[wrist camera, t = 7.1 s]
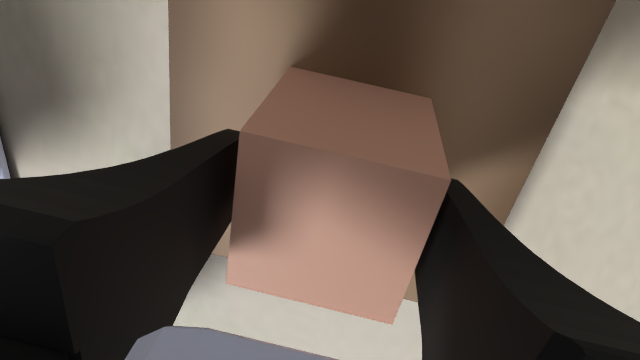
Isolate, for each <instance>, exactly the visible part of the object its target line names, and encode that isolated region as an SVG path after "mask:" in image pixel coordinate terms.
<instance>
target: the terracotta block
mask: <svg viewBox="0 0 640 360" xmlns="http://www.w3.org/2000/svg"><path fill="white" fill-rule="evenodd" d="M450 182H451V177H450V173H449V169H448V165H447V161H446V157H445V153H444V149H443V145H442V140H441V136H440V132H439V128H438V124H437V120H436V116H435V112H434V108H433V104H432V100H431V98H427V97H422V96H418V95H414V94H409V93H405V92H400V91H396V90H392V89H387V88H383V87H378V86H374V85H370V84H365V83H361V82H356V81H352V80H348V79H343V78H339V77H334V76H330V75H326V74H321V73H317V72H312V71H308V70H304V69H299V68H295V67H290V68H289V69H288V70H287V71H286V73H285V74H284V75H283V76H282V78H281V79H280V80H279V82H278V83H277V84H276V85H275V87H274V88H273V89H272V90H271V92H270V93H269V94H268V96H267V97H266V98H265V99H264V101H263V102H262V103H261V104H260V106H259V107H258V108H257V109H256V111H255V112H254V113H253V115H252V116H251V117H250V118H249V120H248V121H247V122H246V123H245V125H244V126H243V127H242V129H241V130H240V134H239V145H238V156H237V167H236V178H235V189H234V200H233V211H232V222H231V233H230V244H229V255H228V266H227V277H226V284H230V285H234V286H238V287H242V288H246V289H250V290H254V291H258V292H262V293H266V294H270V295H274V296H278V297H282V298H286V299H290V300H295V301H299V302H303V303H307V304H311V305H315V306H319V307H323V308H327V309H331V310H335V311H339V312H343V313H347V314H351V315H355V316H359V317H363V318H367V319H372V320H376V321H380V322H384V323H388V324H393V322H394V319H395V317H396V314H397V312H398V310H399V307H400V305H401V302H402V300H403V297H404V295H405V292H406V290H407V287H408V285H409V283H410V280H411V278H412V275H413V273H414V270H415V268H416V265H417V263H418V260H419V258H420V256H421V253H422V251H423V248H424V246H425V243H426V241H427V238H428V236H429V233H430V231H431V229H432V226H433V224H434V221H435V219H436V216H437V214H438V211H439V209H440V206H441V204H442V202H443V199H444V197H445V194H446V192H447V189H448V187H449V184H450Z"/></svg>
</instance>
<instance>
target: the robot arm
mask: <svg viewBox="0 0 640 360" xmlns="http://www.w3.org/2000/svg"><path fill="white" fill-rule="evenodd" d="M239 134H240V131H237V130H232V129H225V130H222V131H219V132H216V133H213V134H211V135H208V136H206V137H203V138H201V139H198V140H196V141H193V142H191V143H188V144H186V145H183V146H180V147H178V148H175V149H172V150H169V151H166V152H163V153H160V154H157V155H154V156H151V157H148V158H145V159H141V160H137V161H134V162H130V163H126V164H121V165H117V166H113V167H108V168H102V169H96V170H89V171H83V172H77V173H71V174H63V175H53V176H43V177H29V178H12V179H11V178H10V174H9V170H8V166H7V162H6V158H5V154H4V150H3V146H2V142H1V138H0V360H338V359H334V358H330V357H325V356H321V355H317V354H313V353H309V352H305V351H301V350H296V349H292V348H288V347H284V346H280V345H276V344H272V343H268V342H263V341H259V340H255V339H251V338H247V337H243V336H239V335H235V334H230V333H226V332H222V331H218V330H214V329H210V328H200V327H183V326H173V324H174V321H175V319H176V317H177V315H178V313H179V311H180V309H181V307H182V305H183V302H184V300H185V298H186V296H187V294H188V292H189V290H190V288H191V286H192V285H193V283H194V281H195V279H196V277H197V276H198V274H199V273H200V271H201V269H202V268H203V266H204V265H205V263H206V261H207V260H208V258H209V257H210V255H211V253H212V252H213V250H214V249H215V247H216V245H217V244H218V242H219V241H220V239H221V237H222V236H223V234H224V233H225V231H226V229H227V228H228V226H229V224H230V223H231V221H232V211H233V200H234V189H235V178H236V167H237V156H238V145H239ZM414 271H415V280H416V289H417V298H418V306H419V315H420V324H421V334H422V360H640V322H638V321H636V320H635V319H633V318H631V317H629V316H628V315H626V314H624V313H622V312H620V311H619V310H617V309H615V308H613V307H612V306H610V305H608V304H607V303H605V302H603V301H602V300H600V299H598V298H597V297H595V296H593V295H592V294H590V293H589V292H587V291H586V290H584V289H583V288H581V287H580V286H578V285H577V284H575V283H574V282H572V281H571V280H569V279H568V278H566V277H565V276H563V275H562V274H560V273H559V272H558V271H556V270H555V269H554V268H552V267H551V266H550V265H548V264H547V263H546V262H545V261H543V260H542V259H541V258H539V257H538V256H537V255H536V254H534V253H533V252H532V251H531V250H530V249H528V248H527V247H526V246H525V245H524V244H523V243H521V242H520V241H519V240H518V239H517V238H516V237H515V236H514V235H513V234H512V233H510V232H509V231H508V230H507V229H506V228H505V227H504V226H503V225H502V224H501V223H500V222H499V221H498V220H497V219H496V218H495V217H494V216H493V215H492V214H491V213H490V212H489V211H488V210H487V209H486V208H485V207H484V205H483V204H482V203H481V202H480V201H479V200H478V199H477V198H476V197H475V196H474V195H473V194H472V193H471V192H470V191H469V190H468V189H467V188H466V187H465V186H464V185H463V184H462V183H461V182H460V181H459V180H457V179H452V178H451V182H450V184H449V187H448V189H447V192H446V194H445V197H444V199H443V202H442V204H441V206H440V209H439V211H438V214H437V216H436V219H435V221H434V224H433V226H432V229H431V231H430V233H429V236H428V238H427V241H426V243H425V246H424V248H423V251H422V253H421V256H420V258H419V260H418V263H417V265H416V268H415V270H414Z"/></svg>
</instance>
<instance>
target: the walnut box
mask: <svg viewBox="0 0 640 360" xmlns="http://www.w3.org/2000/svg"><path fill="white" fill-rule="evenodd" d="M615 2H616V0H168V11H169V73H170V135H171V150H172V149H175V148H178V147H180V146H183V145H186V144H188V143H191V142H193V141H196V140H198V139H201V138H203V137H206V136H208V135H211V134H213V133H216V132H219V131H222V130H225V129H232V130H237V131H240V130H241V129H242V127H243V126H244V125H245V123H246V122H247V121H248V120H249V118H250V117H251V116H252V115H253V113H254V112H255V111H256V109H257V108H258V107H259V106H260V104H261V103H262V102H263V101H264V99H265V98H266V97H267V96H268V94H269V93H270V92H271V90H272V89H273V88H274V87H275V85H276V84H277V83H278V82H279V80H280V79H281V78H282V76H283V75H284V74H285V73H286V71H287V70H288V69H289V68H290V67H295V68H299V69H304V70H308V71H312V72H317V73H321V74H326V75H330V76H334V77H339V78H343V79H348V80H352V81H356V82H361V83H365V84H370V85H374V86H378V87H383V88H387V89H392V90H396V91H400V92H405V93H409V94H414V95H418V96H422V97H427V98H431V100H432V104H433V108H434V112H435V116H436V120H437V124H438V128H439V132H440V136H441V140H442V145H443V149H444V153H445V157H446V161H447V165H448V169H449V173H450V177H451V178H452V179H457V180H459V181H460V182H461V183H462V184H463V185H464V186H465V187H466V188H467V189H468V190H469V191H470V192H471V193H472V194H473V195H474V196H475V197H476V198H477V199H478V200H479V201H480V202H481V203H482V204H483V205H484V207H485V208H486V209H487V210H488V211H489V212H490V213H491V214H492V215H493V216H494V217H495V218H496V219H497V220H498V221H499V222H500V223H501V224H502V225H504V223H505V221H506V219H507V217H508V215H509V213H510V211H511V209H512V207H513V205H514V203H515V201H516V199H517V197H518V195H519V193H520V191H521V189H522V187H523V185H524V183H525V181H526V179H527V177H528V175H529V173H530V171H531V169H532V167H533V165H534V163H535V161H536V159H537V157H538V155H539V153H540V151H541V149H542V147H543V145H544V143H545V141H546V139H547V137H548V135H549V133H550V131H551V129H552V127H553V125H554V123H555V121H556V119H557V117H558V115H559V113H560V111H561V109H562V107H563V105H564V103H565V101H566V99H567V97H568V95H569V93H570V91H571V89H572V87H573V85H574V83H575V81H576V79H577V77H578V75H579V73H580V71H581V69H582V67H583V65H584V63H585V61H586V59H587V57H588V55H589V53H590V51H591V49H592V47H593V45H594V43H595V41H596V39H597V37H598V35H599V33H600V31H601V29H602V27H603V25H604V23H605V21H606V19H607V18H608V16H609V14H610V12H611V10H612V8H613V6H614V4H615ZM231 222H232V221H231ZM230 233H231V223H230V224H229V226H228V228H227V229H226V231H225V233H224V234H223V236H222V237H221V239H220V241H219V242H218V244H217V245H216V247H215V249H214V250H213V252H212V253H211V254H215V255H219V256H223V257H227V258H228V255H229V244H230ZM403 299H406V300H410V301H415V302H418V298H417V289H416V280H415V271H414V273H413V275H412V278H411V280H410V283H409V285H408V287H407V290H406V292H405V295H404V297H403Z"/></svg>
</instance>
